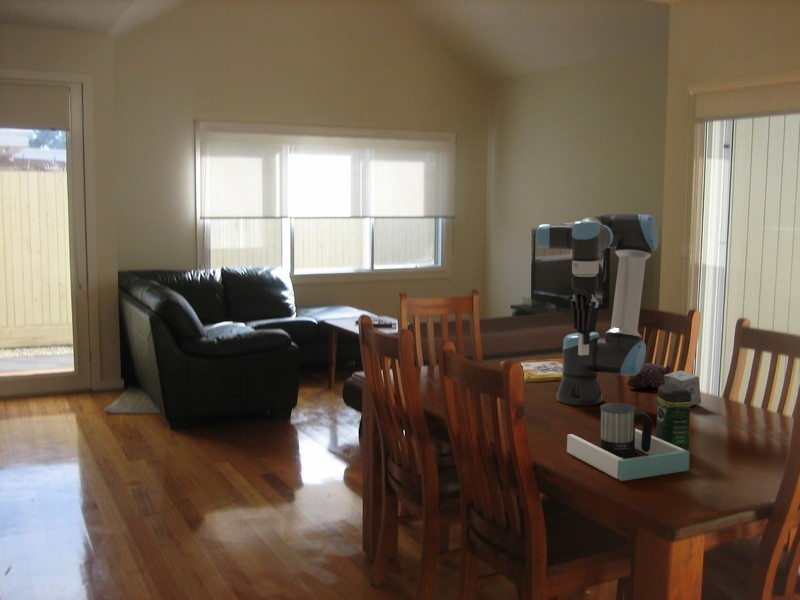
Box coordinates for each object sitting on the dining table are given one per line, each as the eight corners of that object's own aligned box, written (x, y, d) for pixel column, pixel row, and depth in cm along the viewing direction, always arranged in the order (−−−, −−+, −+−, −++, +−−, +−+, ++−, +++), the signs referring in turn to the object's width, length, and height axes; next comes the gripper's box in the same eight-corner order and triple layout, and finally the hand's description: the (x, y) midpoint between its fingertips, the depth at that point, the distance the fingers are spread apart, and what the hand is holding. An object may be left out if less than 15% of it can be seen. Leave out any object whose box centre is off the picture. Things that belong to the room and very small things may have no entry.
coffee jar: (693, 455, 230) (696, 389, 228) (665, 457, 229) (668, 390, 227) (677, 445, 240) (680, 381, 237) (650, 446, 239) (653, 382, 236)
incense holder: (662, 401, 287) (663, 371, 285) (682, 399, 289) (684, 369, 288) (680, 409, 278) (681, 378, 276) (701, 406, 280) (702, 376, 279)
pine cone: (637, 393, 298) (625, 367, 301) (628, 400, 307) (617, 375, 310) (681, 378, 300) (669, 352, 304) (671, 385, 310) (660, 360, 313)
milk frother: (610, 468, 221) (612, 413, 219) (578, 450, 235) (579, 398, 233) (656, 462, 226) (658, 407, 223) (621, 444, 240) (623, 393, 238)
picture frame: (562, 358, 349) (593, 374, 319) (562, 363, 349) (592, 380, 320) (499, 361, 343) (525, 378, 314) (499, 366, 344) (524, 384, 315)
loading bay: (566, 452, 234) (567, 434, 233) (630, 443, 241) (630, 426, 241) (621, 481, 211) (621, 461, 210) (688, 470, 219) (689, 451, 218)
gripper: (561, 273, 248) (560, 351, 252) (587, 278, 236) (585, 360, 240) (583, 271, 251) (581, 348, 255) (609, 276, 239) (607, 357, 243)
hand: (583, 354), depth 248 cm, fingers closed
